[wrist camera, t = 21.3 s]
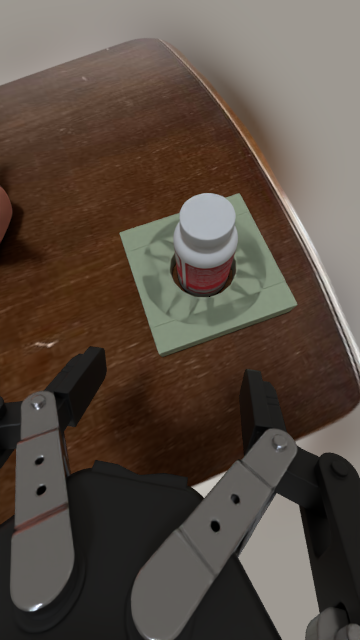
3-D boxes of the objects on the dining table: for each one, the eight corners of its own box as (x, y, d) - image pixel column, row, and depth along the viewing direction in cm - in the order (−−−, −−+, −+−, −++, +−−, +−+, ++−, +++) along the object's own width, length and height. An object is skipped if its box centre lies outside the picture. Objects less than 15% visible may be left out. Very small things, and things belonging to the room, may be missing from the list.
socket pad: (289, 311, 29) (298, 304, 27) (161, 357, 28) (158, 354, 26) (236, 207, 33) (239, 192, 31) (124, 244, 33) (119, 232, 30)
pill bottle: (237, 276, 30) (261, 216, 20) (201, 308, 30) (206, 262, 19) (203, 245, 32) (208, 173, 21) (168, 274, 31) (155, 214, 20)
